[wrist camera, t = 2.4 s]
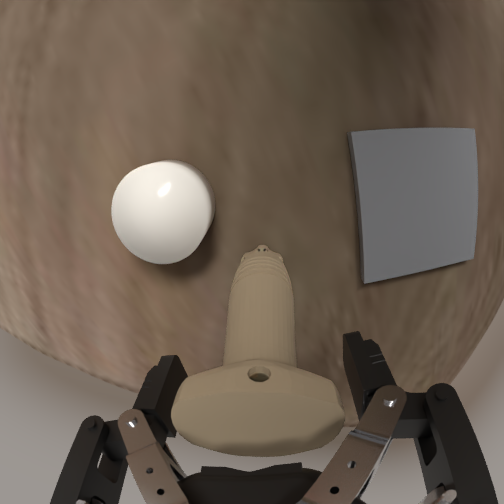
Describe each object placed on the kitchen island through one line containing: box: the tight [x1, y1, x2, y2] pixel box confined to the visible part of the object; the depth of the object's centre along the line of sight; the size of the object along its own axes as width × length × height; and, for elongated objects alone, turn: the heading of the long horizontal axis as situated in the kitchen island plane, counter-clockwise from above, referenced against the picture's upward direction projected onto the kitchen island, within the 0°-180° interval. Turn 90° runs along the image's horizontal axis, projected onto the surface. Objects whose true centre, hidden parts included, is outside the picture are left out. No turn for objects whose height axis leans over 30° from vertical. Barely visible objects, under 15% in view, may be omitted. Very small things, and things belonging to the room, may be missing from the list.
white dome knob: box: [112, 160, 215, 264], centre depth 20 cm, size 7×7×4 cm
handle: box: [171, 245, 345, 457], centre depth 16 cm, size 5×6×15 cm
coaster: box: [347, 128, 478, 284], centre depth 20 cm, size 12×12×1 cm
